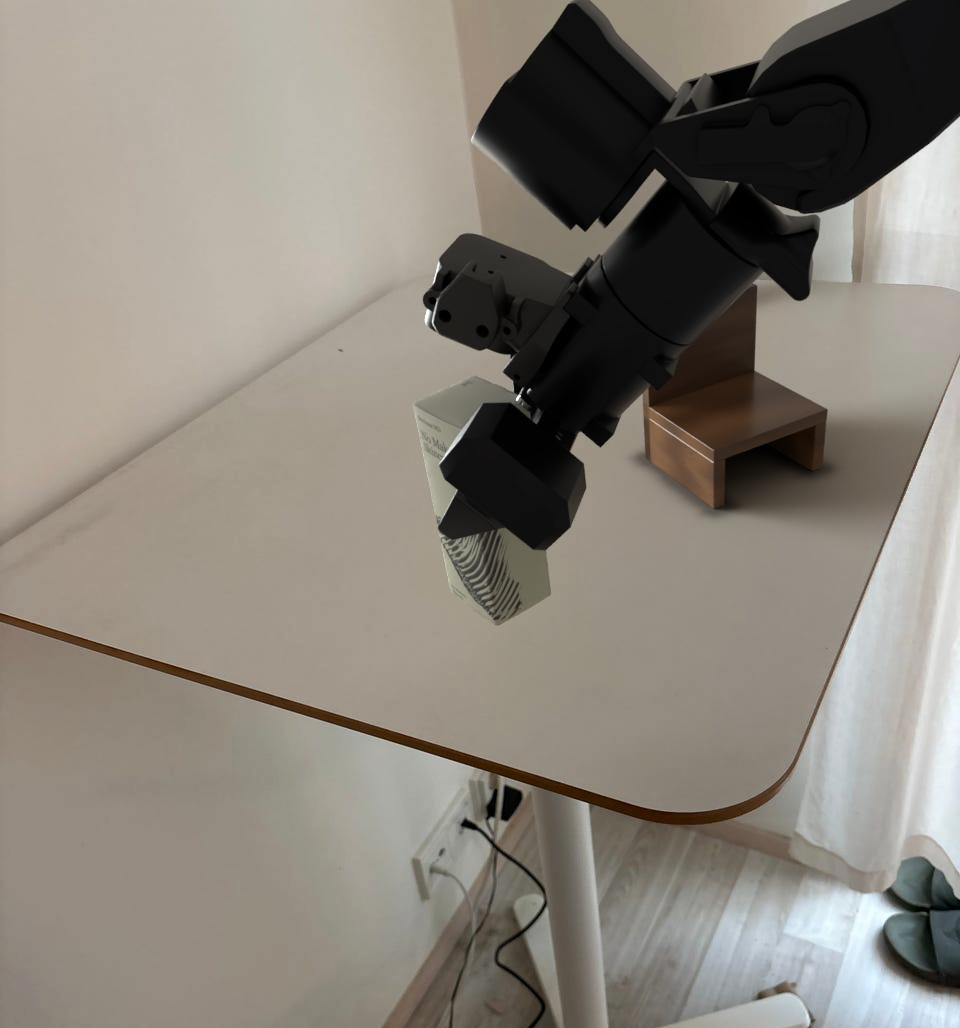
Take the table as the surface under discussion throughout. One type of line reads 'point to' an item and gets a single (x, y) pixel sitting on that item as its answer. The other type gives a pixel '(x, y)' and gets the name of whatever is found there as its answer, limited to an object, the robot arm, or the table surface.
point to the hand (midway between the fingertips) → (463, 501)
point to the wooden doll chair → (726, 408)
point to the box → (487, 556)
